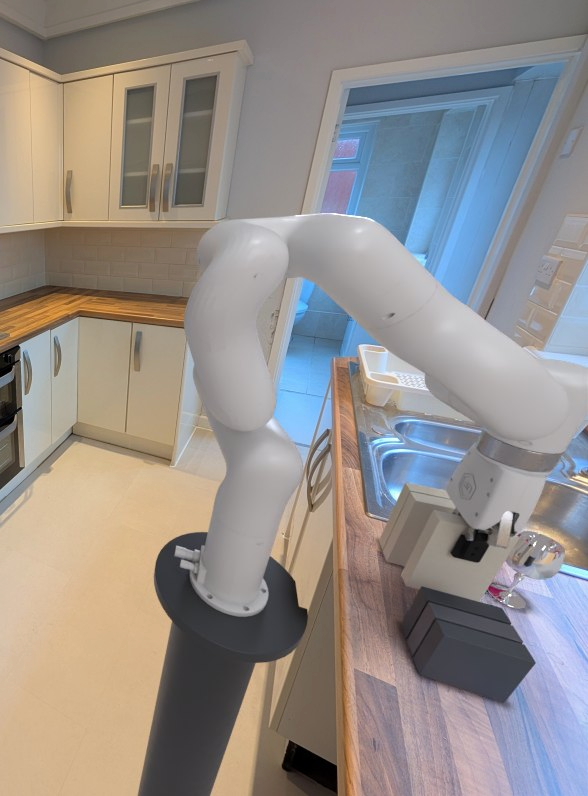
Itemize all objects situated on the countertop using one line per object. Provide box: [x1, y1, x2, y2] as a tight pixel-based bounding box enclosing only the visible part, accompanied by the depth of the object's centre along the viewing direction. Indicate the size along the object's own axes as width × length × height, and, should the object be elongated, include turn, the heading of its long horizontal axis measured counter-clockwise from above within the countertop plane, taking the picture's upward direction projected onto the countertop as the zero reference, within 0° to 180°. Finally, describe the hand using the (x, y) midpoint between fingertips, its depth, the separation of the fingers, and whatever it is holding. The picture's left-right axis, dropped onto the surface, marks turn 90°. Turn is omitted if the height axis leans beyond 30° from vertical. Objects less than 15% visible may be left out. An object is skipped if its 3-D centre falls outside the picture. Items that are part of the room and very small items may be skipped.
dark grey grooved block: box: [400, 586, 537, 704], centre depth 58 cm, size 9×8×8 cm
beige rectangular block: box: [378, 481, 456, 567], centre depth 74 cm, size 9×5×14 cm, turn 67°
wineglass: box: [486, 530, 566, 610], centre depth 67 cm, size 6×6×12 cm
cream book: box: [400, 510, 519, 602], centre depth 65 cm, size 9×2×14 cm, turn 67°
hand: (459, 549), depth 65 cm, fingers closed on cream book, 2 cm apart
